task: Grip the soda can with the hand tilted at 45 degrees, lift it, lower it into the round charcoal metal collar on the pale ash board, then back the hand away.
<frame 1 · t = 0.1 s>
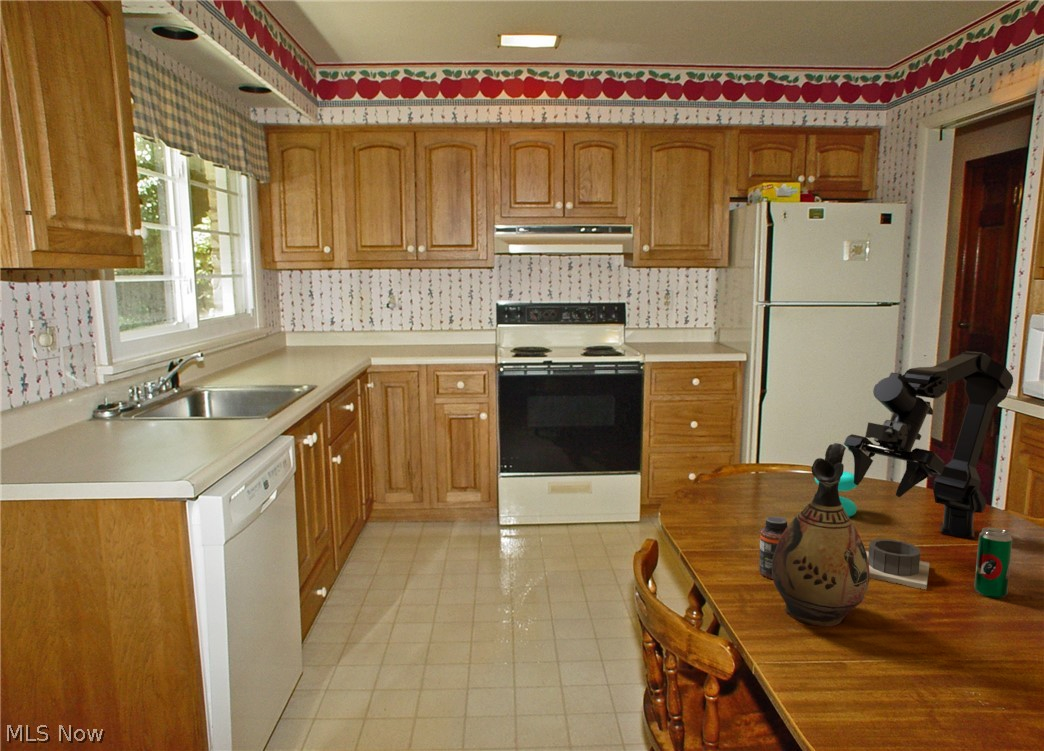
hand: (876, 490, 138), 15 cm above the table, tool tilted 35°, fingers open, 9 cm apart
ceramic jug: (817, 613, 118), on the table
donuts: (834, 513, 169), on the table
soda can: (990, 594, 124), on the table
collar socket: (892, 571, 134), on the table
supplement bottle: (774, 575, 133), on the table
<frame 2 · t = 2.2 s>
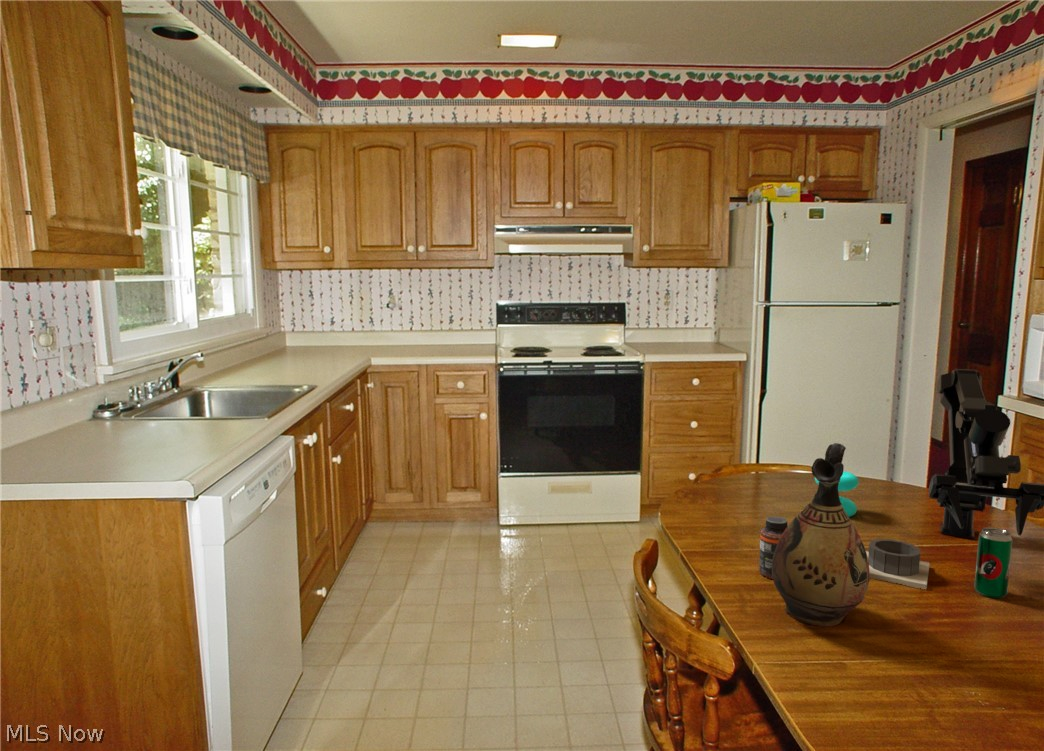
hand: (990, 531, 126), 11 cm above the table, tool tilted 45°, fingers open, 9 cm apart
nothing on the table moved.
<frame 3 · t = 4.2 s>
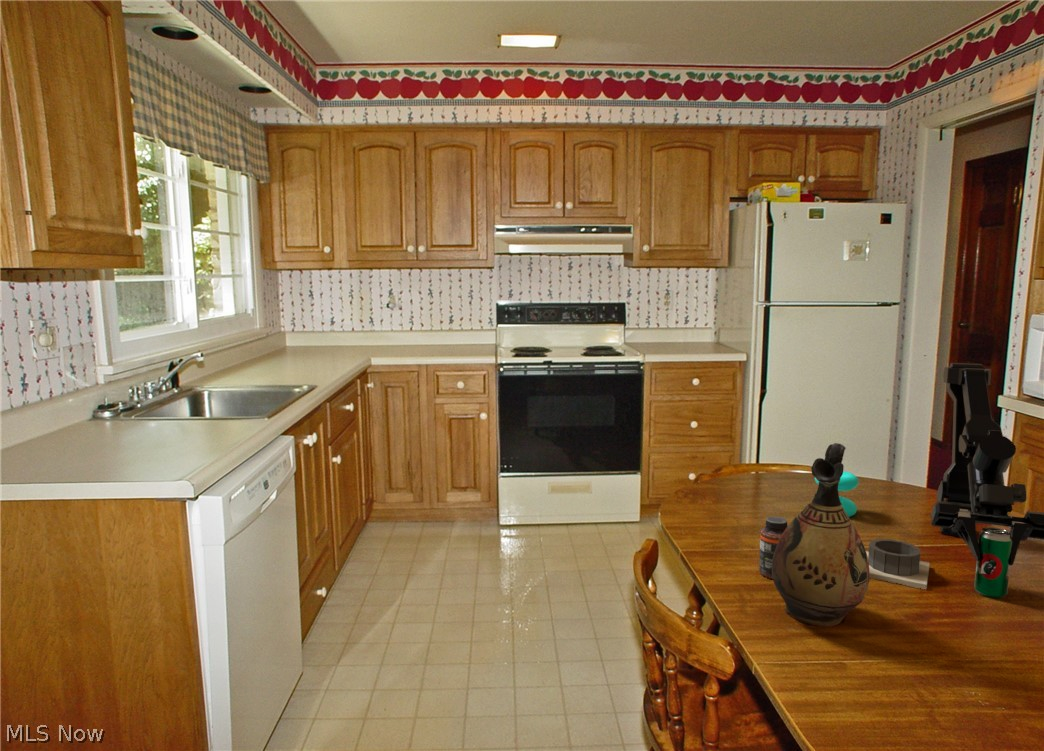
hand: (994, 562, 122), 7 cm above the table, tool tilted 45°, fingers closed on soda can, 5 cm apart
soda can: (990, 594, 124), on the table, touching gripper
everything else where it was.
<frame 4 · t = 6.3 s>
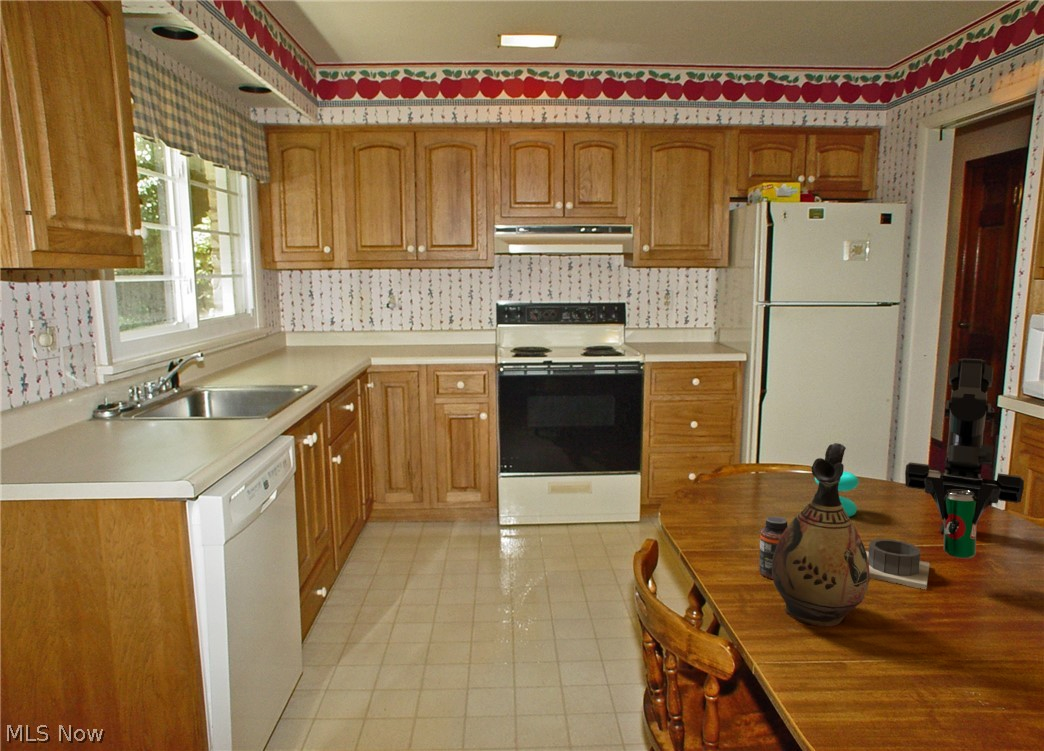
hand: (958, 521, 124), 13 cm above the table, tool tilted 45°, fingers closed on soda can, 5 cm apart
soda can: (959, 555, 126), point 6 cm above the table, touching gripper
everything else where it was.
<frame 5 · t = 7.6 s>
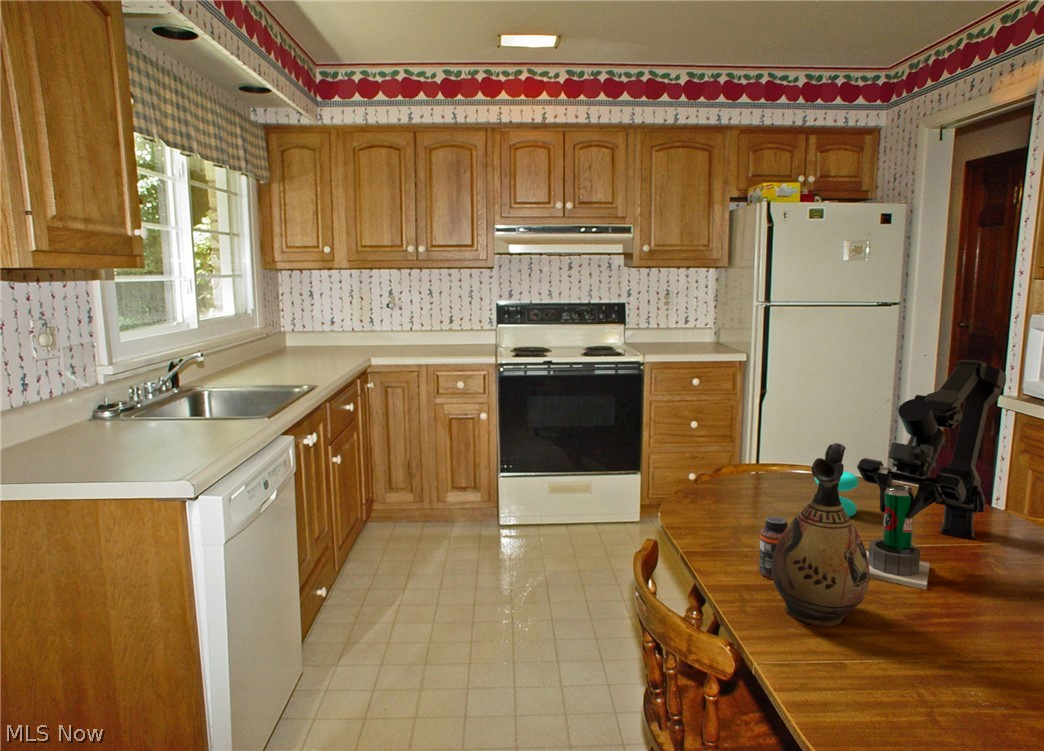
hand: (894, 514, 132), 12 cm above the table, tool tilted 45°, fingers closed on soda can, 5 cm apart
soda can: (897, 547, 133), point 5 cm above the table, touching gripper
everything else where it was.
when the fingers open (9 cm above the table, at t = 8.6 s): soda can stays where it is, resting on collar socket.
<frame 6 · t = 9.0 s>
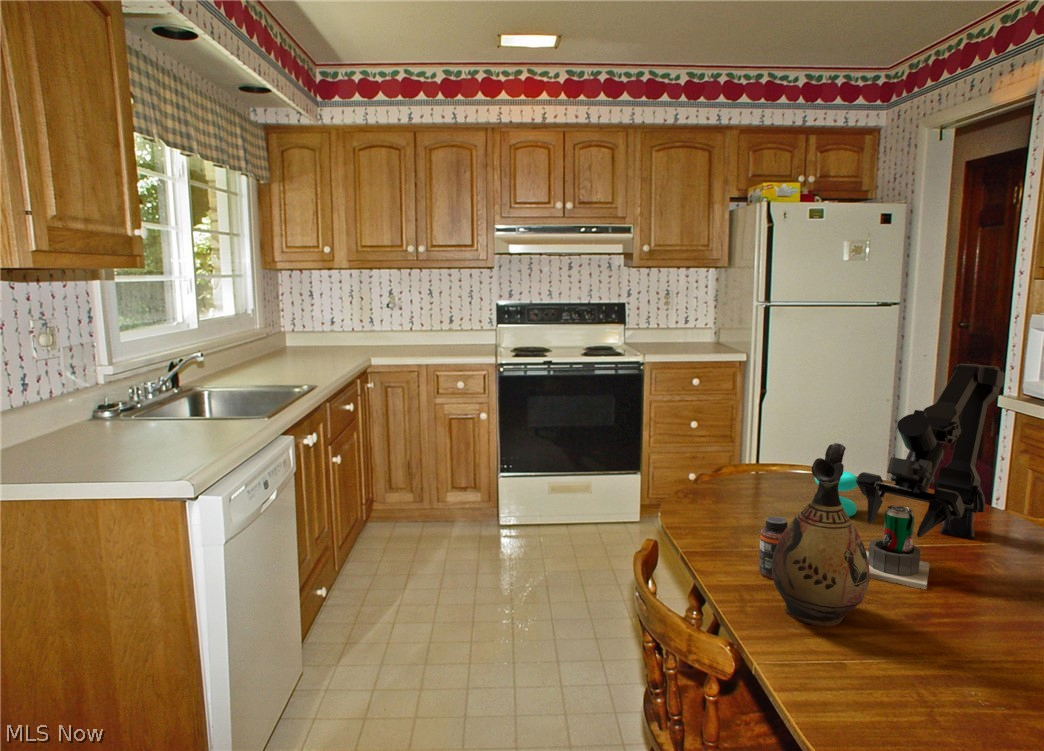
hand: (893, 529, 132), 9 cm above the table, tool tilted 45°, fingers open, 9 cm apart
soda can: (895, 567, 134), point 1 cm above the table, touching collar socket
everything else where it was.
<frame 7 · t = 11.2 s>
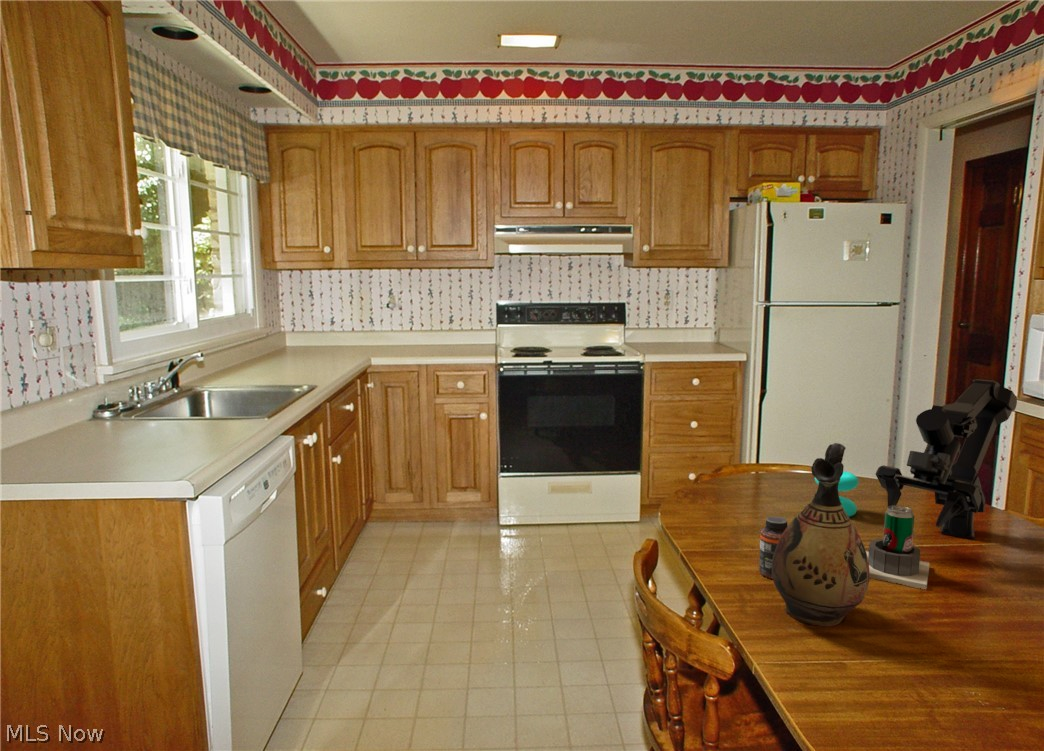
hand: (912, 519, 138), 9 cm above the table, tool tilted 45°, fingers open, 9 cm apart
nothing on the table moved.
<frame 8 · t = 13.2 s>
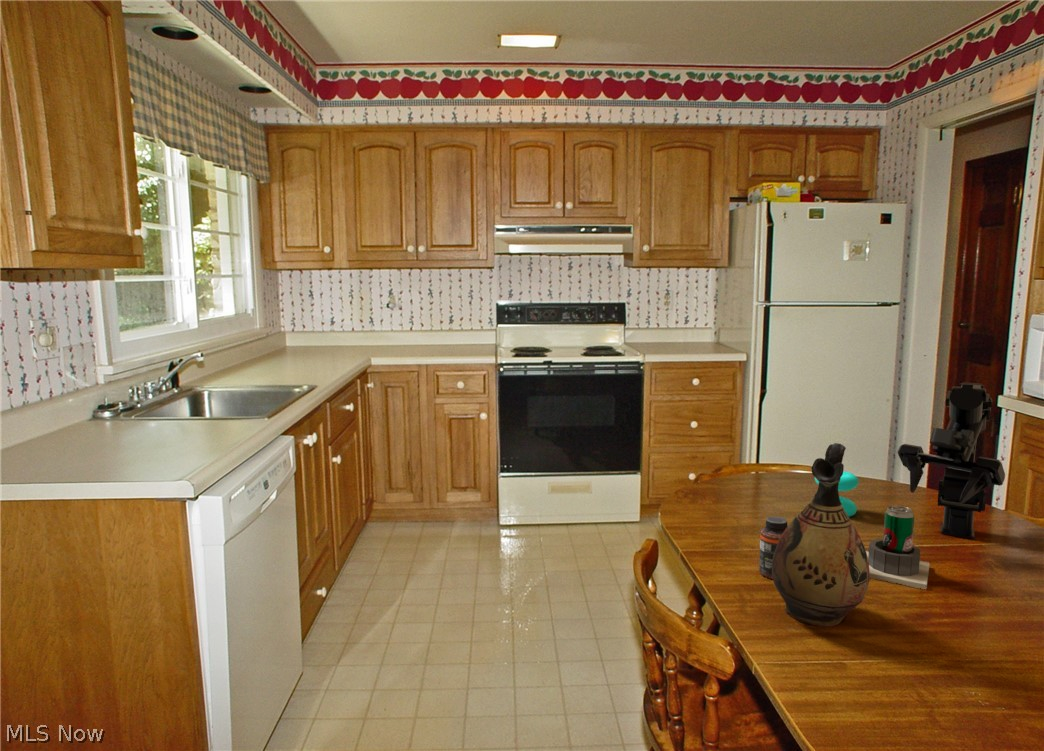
hand: (935, 496, 138), 14 cm above the table, tool tilted 45°, fingers open, 9 cm apart
nothing on the table moved.
at the end: soda can 0.4 cm off-centre on the collar socket, point 0.8 cm above the collar socket's base; soda can tilted 0°; the gripper is holding nothing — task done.
